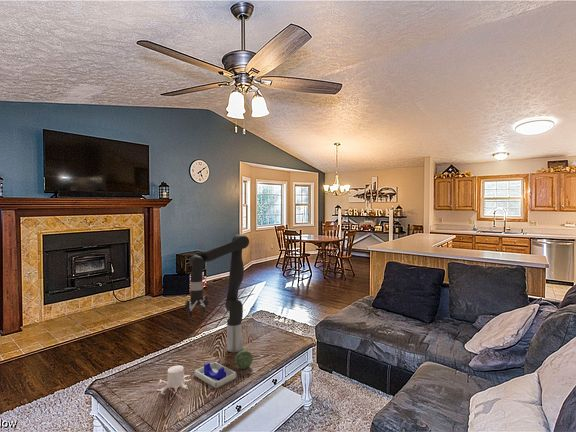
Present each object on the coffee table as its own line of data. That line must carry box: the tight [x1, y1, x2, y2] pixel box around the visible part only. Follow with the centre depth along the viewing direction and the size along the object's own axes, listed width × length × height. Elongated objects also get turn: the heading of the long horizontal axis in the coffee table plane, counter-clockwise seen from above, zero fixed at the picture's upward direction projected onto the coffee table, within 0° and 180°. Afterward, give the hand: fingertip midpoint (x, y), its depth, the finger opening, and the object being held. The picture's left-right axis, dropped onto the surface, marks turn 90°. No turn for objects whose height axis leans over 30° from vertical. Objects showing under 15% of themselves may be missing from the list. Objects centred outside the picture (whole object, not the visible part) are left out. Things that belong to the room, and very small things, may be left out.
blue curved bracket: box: [203, 362, 226, 381], centre depth 173 cm, size 12×4×6 cm, turn 60°
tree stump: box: [156, 365, 192, 396], centre depth 167 cm, size 20×19×8 cm
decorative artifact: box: [234, 349, 254, 370], centre depth 181 cm, size 10×7×10 cm
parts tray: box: [194, 361, 238, 389], centre depth 173 cm, size 14×20×3 cm
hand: (196, 315), depth 192 cm, fingers open, 8 cm apart
